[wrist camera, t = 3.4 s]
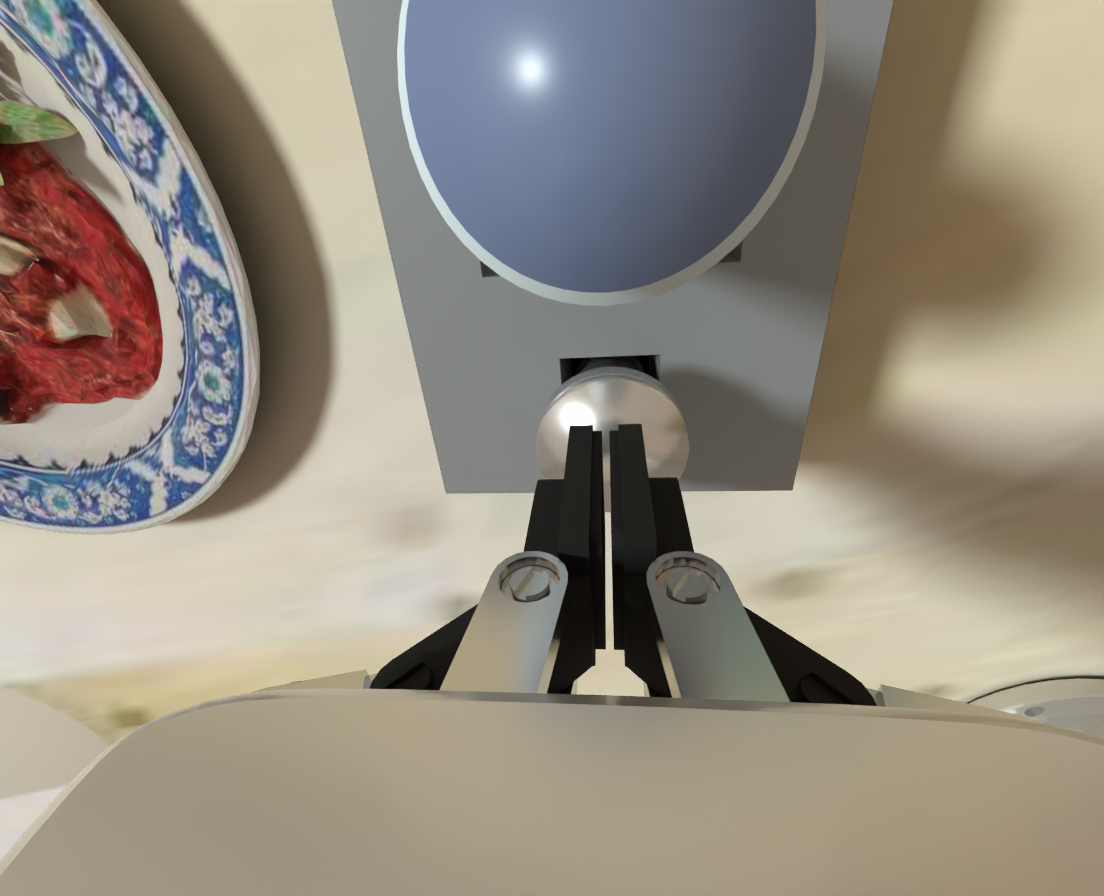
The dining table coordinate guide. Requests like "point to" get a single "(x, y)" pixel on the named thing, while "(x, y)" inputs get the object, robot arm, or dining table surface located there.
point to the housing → (634, 328)
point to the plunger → (613, 417)
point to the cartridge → (607, 131)
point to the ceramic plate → (110, 288)
